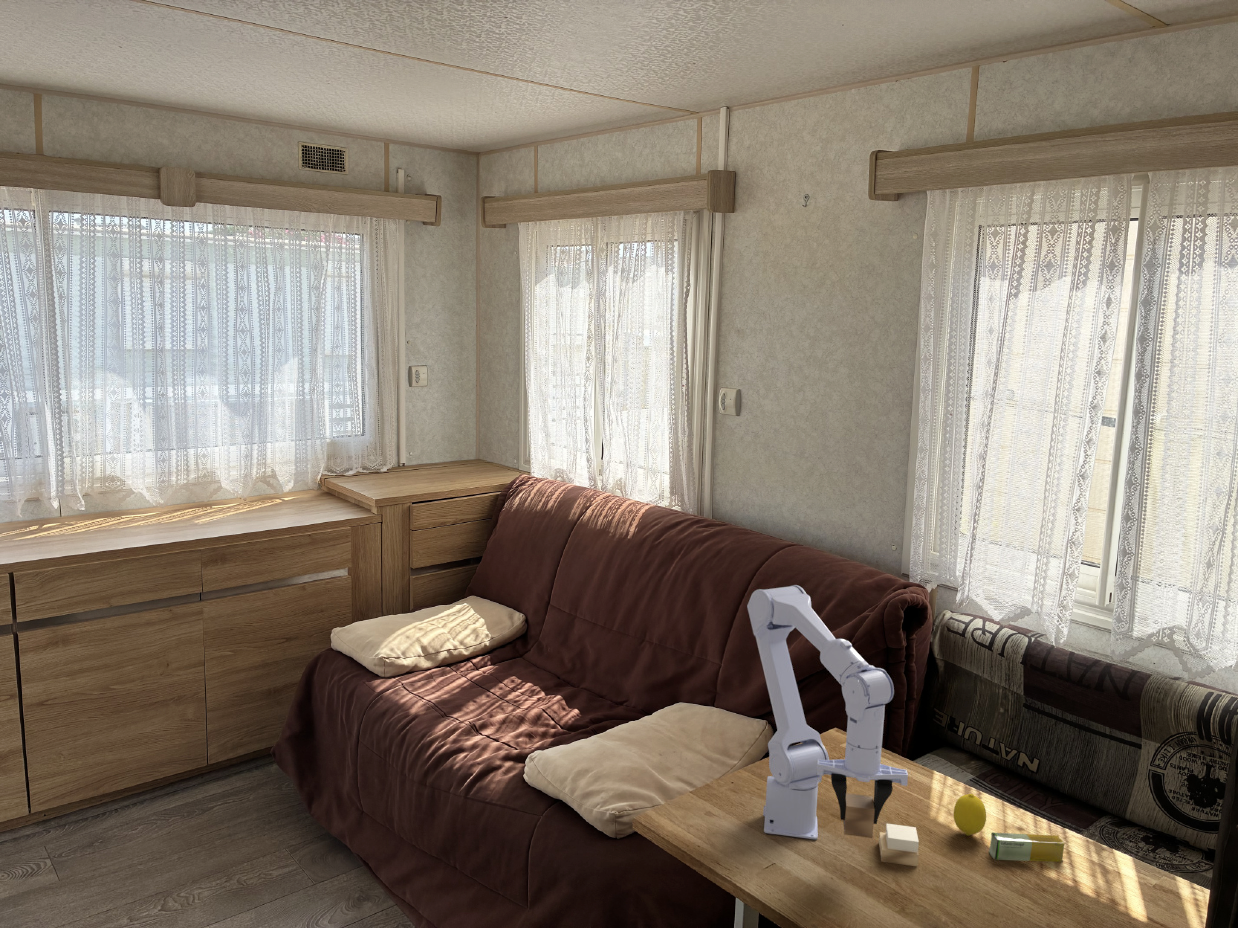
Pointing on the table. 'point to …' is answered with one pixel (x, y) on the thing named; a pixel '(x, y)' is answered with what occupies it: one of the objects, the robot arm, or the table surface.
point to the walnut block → (859, 815)
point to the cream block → (902, 838)
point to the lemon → (969, 814)
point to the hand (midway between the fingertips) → (858, 818)
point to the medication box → (1026, 847)
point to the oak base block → (896, 854)
